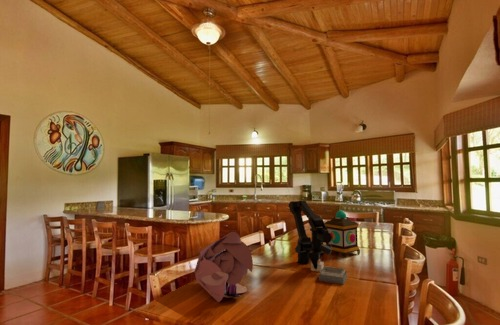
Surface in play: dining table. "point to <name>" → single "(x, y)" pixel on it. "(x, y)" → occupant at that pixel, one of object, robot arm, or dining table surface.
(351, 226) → the decorative lantern
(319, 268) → the beige cube with knob
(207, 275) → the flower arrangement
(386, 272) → the dining table surface
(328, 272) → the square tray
